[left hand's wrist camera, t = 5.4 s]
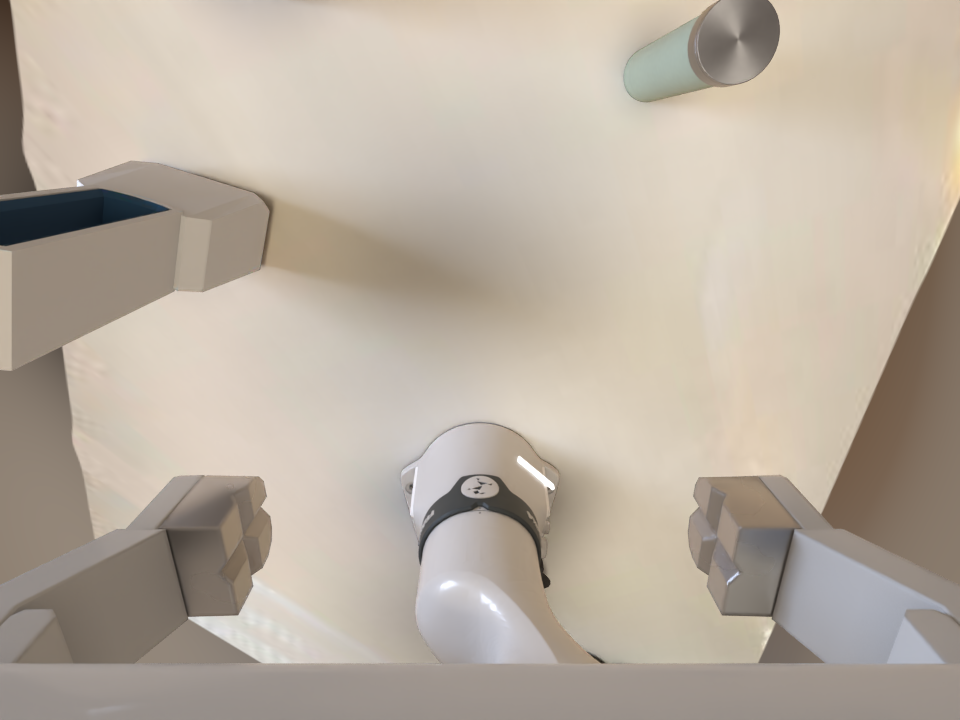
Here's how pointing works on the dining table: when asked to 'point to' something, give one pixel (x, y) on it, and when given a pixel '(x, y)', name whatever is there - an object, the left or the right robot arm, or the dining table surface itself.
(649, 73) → the mint green cylinder
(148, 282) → the electronic device
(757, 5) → the lid
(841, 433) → the dining table surface
